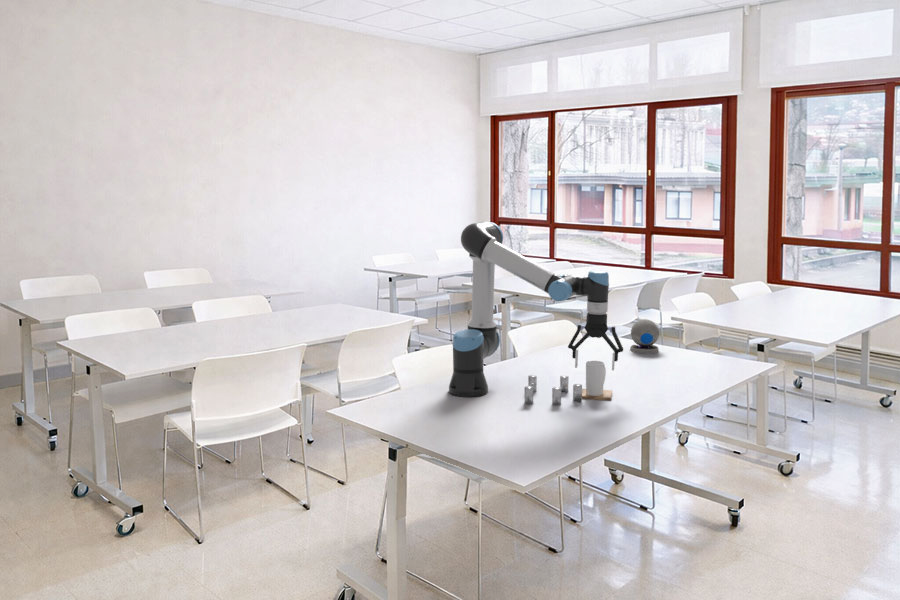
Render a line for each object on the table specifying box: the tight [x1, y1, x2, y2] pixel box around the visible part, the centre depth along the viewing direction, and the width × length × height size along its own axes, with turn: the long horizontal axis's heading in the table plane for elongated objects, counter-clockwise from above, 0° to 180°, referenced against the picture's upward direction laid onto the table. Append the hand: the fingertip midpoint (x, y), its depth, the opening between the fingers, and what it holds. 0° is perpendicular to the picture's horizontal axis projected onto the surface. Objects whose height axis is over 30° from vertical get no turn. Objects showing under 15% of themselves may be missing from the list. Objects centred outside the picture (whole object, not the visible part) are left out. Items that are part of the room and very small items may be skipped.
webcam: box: [629, 318, 660, 354], centre depth 354 cm, size 13×13×15 cm
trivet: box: [582, 388, 613, 401], centre depth 282 cm, size 12×10×1 cm
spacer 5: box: [572, 383, 583, 403], centre depth 275 cm, size 3×3×6 cm
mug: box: [585, 360, 607, 396], centre depth 281 cm, size 10×7×12 cm, turn 133°
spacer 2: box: [523, 385, 534, 406], centre depth 273 cm, size 3×3×6 cm
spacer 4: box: [559, 374, 569, 394], centre depth 287 cm, size 3×3×6 cm
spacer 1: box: [527, 374, 538, 393], centre depth 288 cm, size 3×3×6 cm
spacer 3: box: [551, 386, 562, 406], centre depth 271 cm, size 3×3×6 cm
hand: (594, 368), depth 280 cm, fingers open, 13 cm apart
